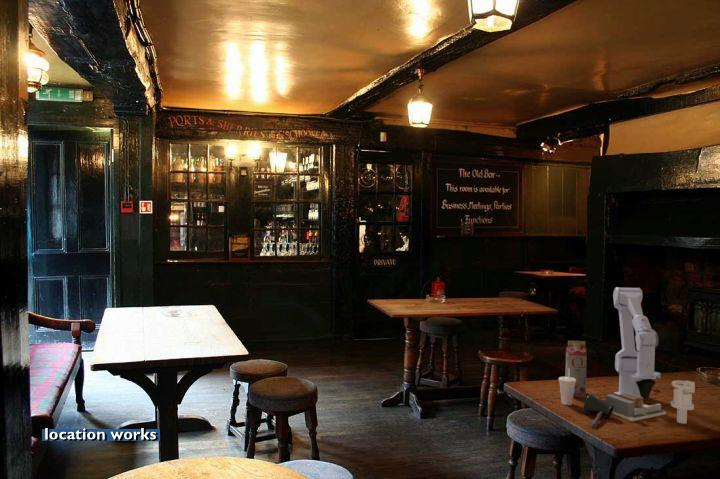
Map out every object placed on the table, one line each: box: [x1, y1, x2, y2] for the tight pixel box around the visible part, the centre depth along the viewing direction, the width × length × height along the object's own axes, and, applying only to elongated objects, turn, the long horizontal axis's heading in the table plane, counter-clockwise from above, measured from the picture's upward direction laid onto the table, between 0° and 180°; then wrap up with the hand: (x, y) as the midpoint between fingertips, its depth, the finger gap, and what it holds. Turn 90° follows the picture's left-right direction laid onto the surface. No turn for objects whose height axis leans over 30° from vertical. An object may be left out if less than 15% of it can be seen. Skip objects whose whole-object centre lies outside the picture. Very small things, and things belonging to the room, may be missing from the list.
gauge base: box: [604, 393, 667, 422], centre depth 203 cm, size 18×13×6 cm
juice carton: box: [564, 340, 588, 398], centre depth 223 cm, size 7×7×22 cm
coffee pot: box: [583, 393, 613, 429], centre depth 195 cm, size 8×18×8 cm
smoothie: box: [558, 368, 576, 406], centre depth 211 cm, size 6×6×14 cm
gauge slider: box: [619, 393, 647, 409], centre depth 201 cm, size 5×9×5 cm, turn 25°
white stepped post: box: [670, 380, 696, 425], centre depth 193 cm, size 7×7×15 cm
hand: (644, 398), depth 206 cm, fingers closed
